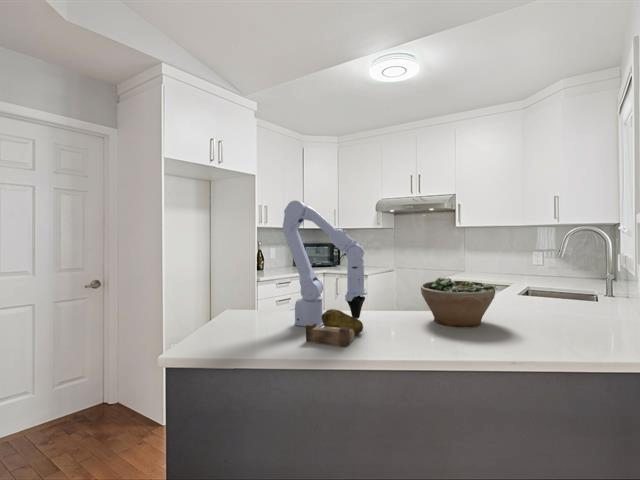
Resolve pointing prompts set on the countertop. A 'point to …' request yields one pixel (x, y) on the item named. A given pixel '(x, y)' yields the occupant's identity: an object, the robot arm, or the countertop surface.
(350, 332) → the roller
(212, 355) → the countertop surface
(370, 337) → the countertop surface
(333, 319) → the potato
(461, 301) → the planter
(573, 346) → the countertop surface
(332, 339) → the stop rail
